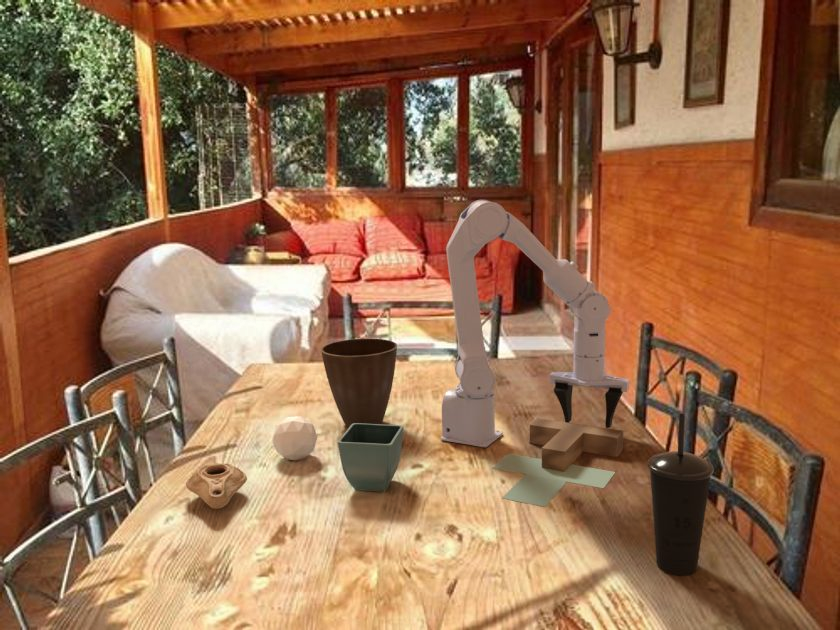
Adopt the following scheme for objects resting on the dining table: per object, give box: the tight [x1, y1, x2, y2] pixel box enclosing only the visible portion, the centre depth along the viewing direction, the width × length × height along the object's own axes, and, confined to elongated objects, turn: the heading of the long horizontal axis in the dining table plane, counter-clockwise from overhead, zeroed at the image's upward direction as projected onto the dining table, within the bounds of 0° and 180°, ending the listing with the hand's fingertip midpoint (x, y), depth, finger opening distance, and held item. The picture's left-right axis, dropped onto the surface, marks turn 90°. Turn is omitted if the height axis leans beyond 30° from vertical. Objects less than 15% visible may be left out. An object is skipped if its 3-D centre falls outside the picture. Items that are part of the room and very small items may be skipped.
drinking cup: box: [647, 413, 715, 577], centre depth 93 cm, size 8×8×20 cm
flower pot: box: [337, 423, 404, 492], centre depth 120 cm, size 9×9×9 cm
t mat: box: [492, 453, 616, 508], centre depth 121 cm, size 19×17×1 cm
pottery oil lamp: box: [185, 462, 248, 510], centre depth 116 cm, size 9×12×7 cm
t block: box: [529, 417, 624, 472], centre depth 131 cm, size 16×14×4 cm
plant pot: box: [320, 337, 398, 429], centre depth 149 cm, size 15×15×16 cm
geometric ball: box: [272, 415, 318, 461], centre depth 133 cm, size 8×8×8 cm
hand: (588, 423), depth 141 cm, fingers open, 7 cm apart
